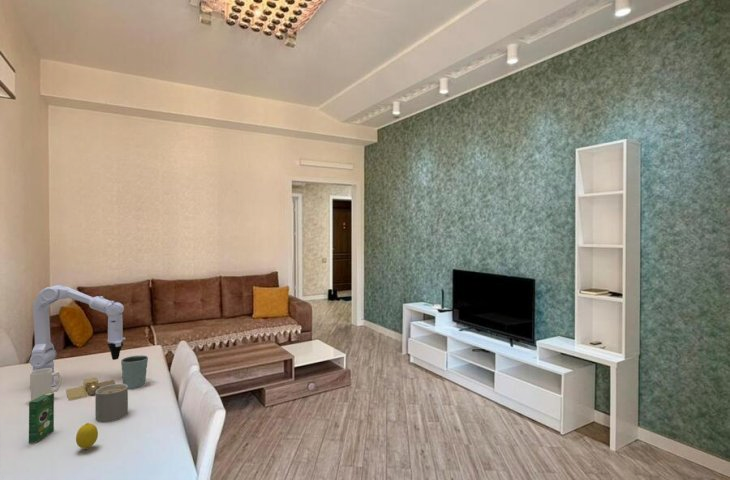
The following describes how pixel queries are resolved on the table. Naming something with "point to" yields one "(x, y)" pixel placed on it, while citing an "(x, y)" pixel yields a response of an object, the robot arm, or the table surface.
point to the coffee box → (41, 417)
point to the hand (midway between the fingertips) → (115, 359)
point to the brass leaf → (80, 389)
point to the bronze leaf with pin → (93, 386)
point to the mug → (43, 382)
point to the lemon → (86, 436)
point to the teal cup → (134, 371)
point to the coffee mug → (111, 402)
